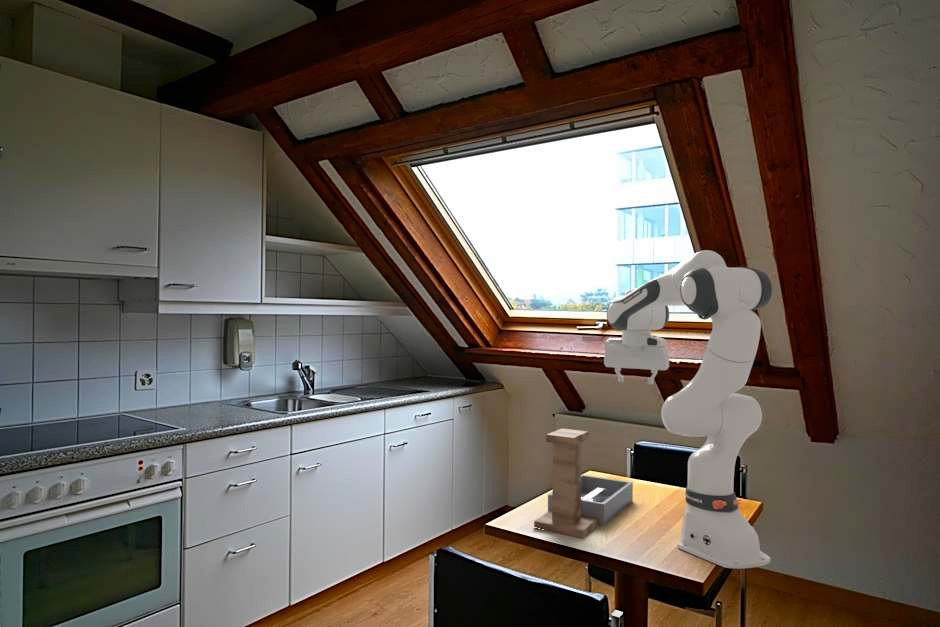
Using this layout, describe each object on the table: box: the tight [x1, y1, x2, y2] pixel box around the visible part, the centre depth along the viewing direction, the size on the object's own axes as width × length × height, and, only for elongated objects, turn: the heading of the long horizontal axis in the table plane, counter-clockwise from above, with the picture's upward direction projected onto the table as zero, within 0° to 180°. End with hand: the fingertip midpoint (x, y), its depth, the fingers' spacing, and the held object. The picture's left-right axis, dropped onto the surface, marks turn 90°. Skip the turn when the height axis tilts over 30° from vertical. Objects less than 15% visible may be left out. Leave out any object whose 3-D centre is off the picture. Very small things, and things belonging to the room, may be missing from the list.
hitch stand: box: [533, 428, 599, 539], centre depth 175 cm, size 12×14×26 cm
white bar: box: [581, 488, 605, 502], centre depth 193 cm, size 17×4×3 cm, turn 149°
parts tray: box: [547, 474, 634, 526], centre depth 193 cm, size 27×17×6 cm, turn 149°
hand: (635, 382), depth 202 cm, fingers open, 8 cm apart
